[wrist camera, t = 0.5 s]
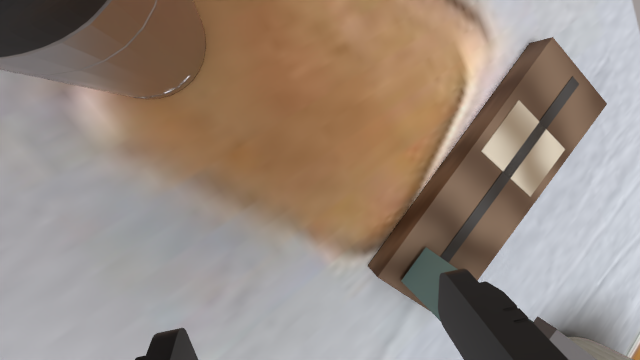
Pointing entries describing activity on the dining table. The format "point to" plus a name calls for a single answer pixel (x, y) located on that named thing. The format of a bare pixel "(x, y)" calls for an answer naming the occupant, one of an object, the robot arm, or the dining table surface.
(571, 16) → the dining table surface
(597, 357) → the canister
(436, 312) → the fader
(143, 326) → the dining table surface
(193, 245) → the dining table surface
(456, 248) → the grooved wooden base
